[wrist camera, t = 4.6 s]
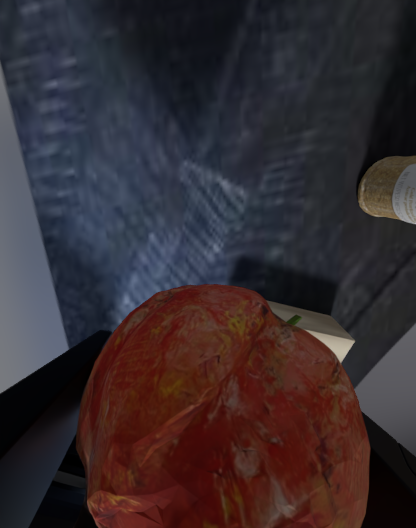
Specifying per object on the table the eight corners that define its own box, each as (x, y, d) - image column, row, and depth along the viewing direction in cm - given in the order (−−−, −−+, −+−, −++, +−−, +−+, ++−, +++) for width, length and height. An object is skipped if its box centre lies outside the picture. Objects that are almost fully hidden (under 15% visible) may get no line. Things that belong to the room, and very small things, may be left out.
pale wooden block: (288, 384, 26) (304, 418, 22) (206, 369, 24) (208, 403, 20) (328, 313, 22) (355, 340, 19) (236, 291, 21) (245, 316, 17)
